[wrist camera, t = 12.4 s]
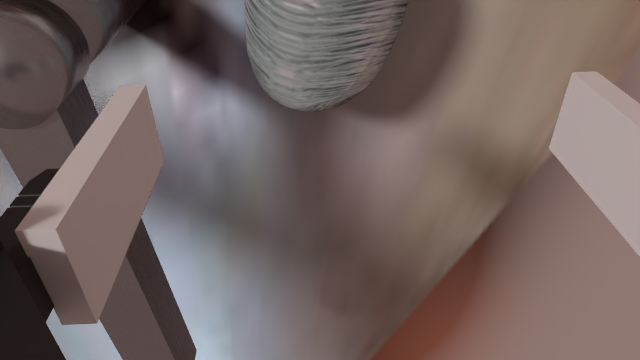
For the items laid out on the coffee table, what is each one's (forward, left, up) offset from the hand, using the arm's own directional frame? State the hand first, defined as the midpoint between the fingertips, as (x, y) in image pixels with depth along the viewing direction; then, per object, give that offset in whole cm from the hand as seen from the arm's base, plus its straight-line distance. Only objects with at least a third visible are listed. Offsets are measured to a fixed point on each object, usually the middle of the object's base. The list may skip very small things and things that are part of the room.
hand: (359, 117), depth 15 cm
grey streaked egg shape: (0, 0, -19) cm, 19 cm away
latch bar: (-12, -10, -8) cm, 18 cm away
